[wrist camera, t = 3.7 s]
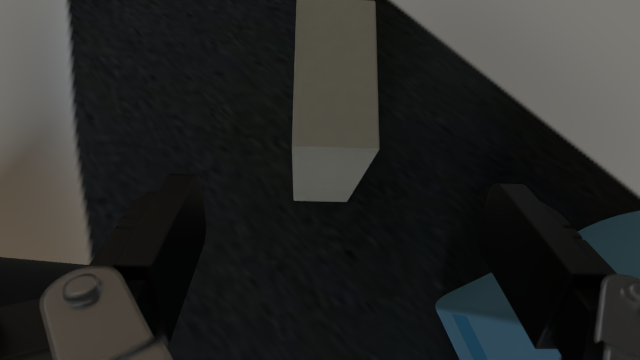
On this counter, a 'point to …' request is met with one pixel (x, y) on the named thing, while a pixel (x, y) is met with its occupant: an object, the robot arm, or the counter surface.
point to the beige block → (334, 98)
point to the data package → (497, 314)
